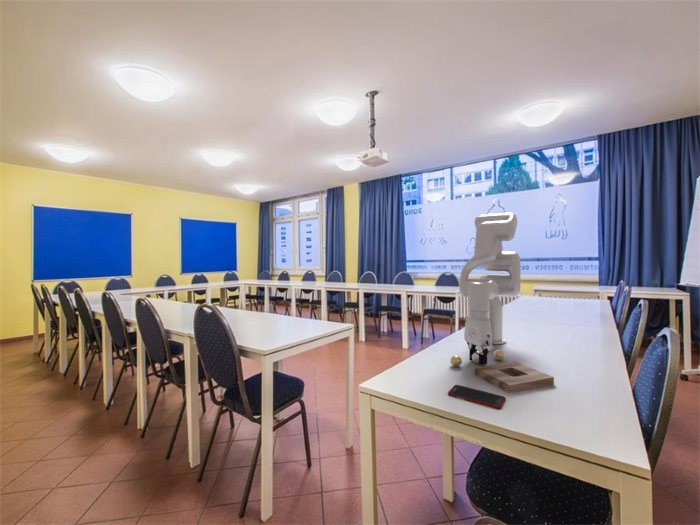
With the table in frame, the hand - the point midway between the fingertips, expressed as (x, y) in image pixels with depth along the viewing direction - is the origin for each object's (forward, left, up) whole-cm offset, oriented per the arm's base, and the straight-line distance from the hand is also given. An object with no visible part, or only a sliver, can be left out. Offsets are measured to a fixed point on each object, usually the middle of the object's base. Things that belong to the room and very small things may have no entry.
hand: (478, 361), depth 117 cm
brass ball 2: (0, +10, +1) cm, 10 cm away
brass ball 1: (0, -10, +1) cm, 10 cm away
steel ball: (0, 0, +2) cm, 2 cm away
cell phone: (+22, -20, -1) cm, 30 cm away
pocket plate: (+16, 0, -1) cm, 16 cm away
